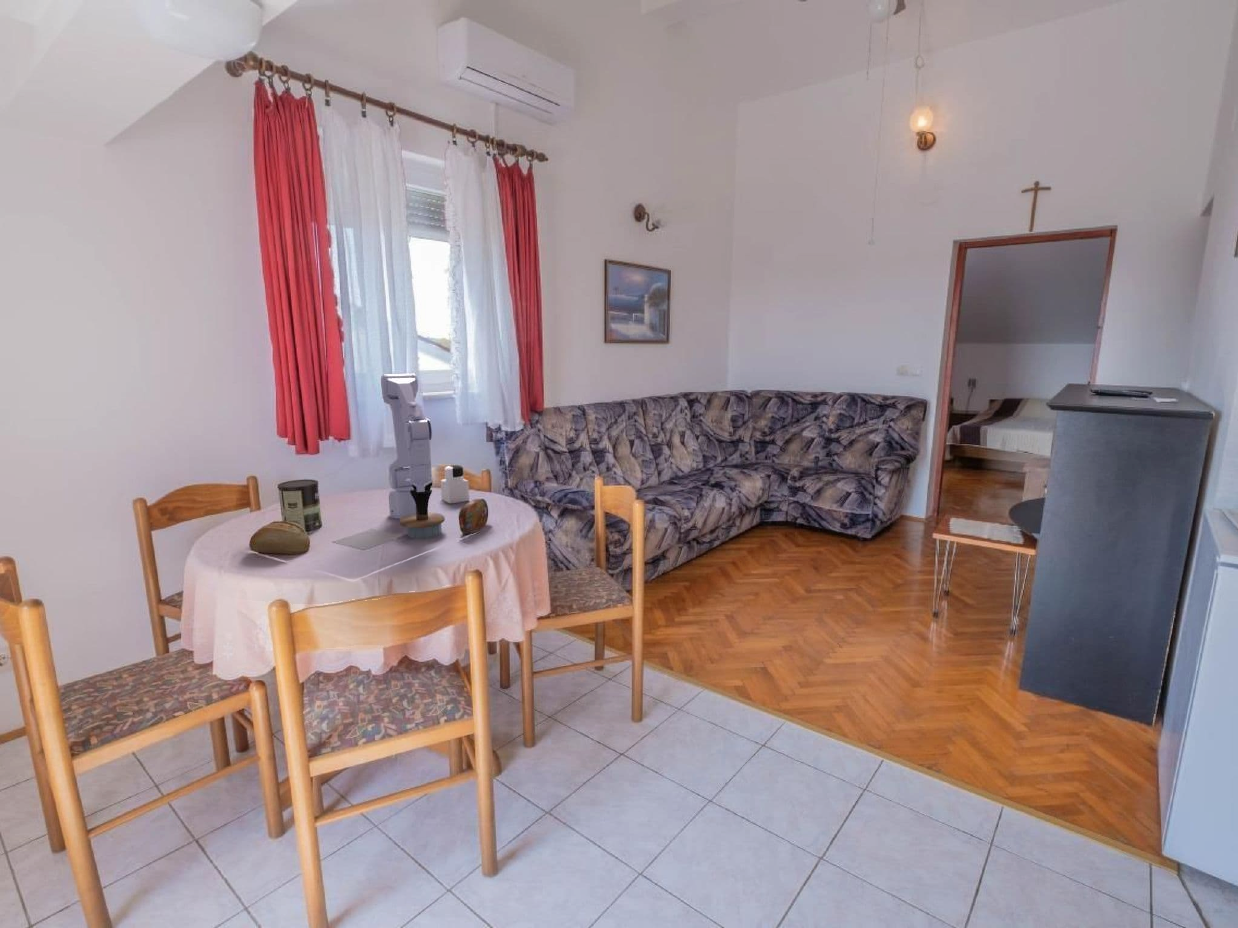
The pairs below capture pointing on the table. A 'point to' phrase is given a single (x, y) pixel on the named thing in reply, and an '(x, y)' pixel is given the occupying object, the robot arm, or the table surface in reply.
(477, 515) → the tin
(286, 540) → the bread roll
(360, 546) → the mat
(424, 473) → the robot arm
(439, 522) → the lid
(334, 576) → the table surface
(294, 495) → the coffee can
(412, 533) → the bowl
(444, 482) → the medicine bottle
